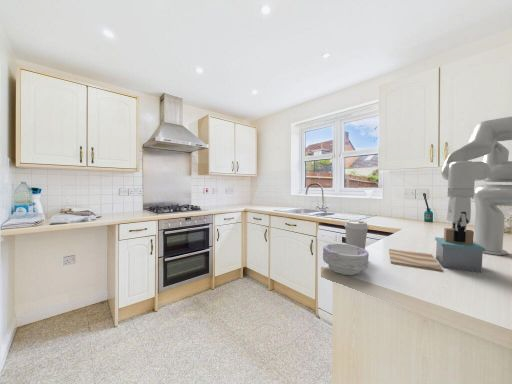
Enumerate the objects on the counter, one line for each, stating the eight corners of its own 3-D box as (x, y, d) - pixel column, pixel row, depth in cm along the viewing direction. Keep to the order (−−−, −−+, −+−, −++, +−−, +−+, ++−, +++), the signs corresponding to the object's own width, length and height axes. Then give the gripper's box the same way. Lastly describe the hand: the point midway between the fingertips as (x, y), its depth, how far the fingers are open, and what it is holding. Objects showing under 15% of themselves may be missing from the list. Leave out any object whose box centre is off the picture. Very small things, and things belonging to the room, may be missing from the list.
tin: (435, 258, 95) (436, 239, 95) (470, 263, 90) (471, 243, 89) (442, 266, 86) (443, 246, 85) (481, 272, 80) (482, 250, 80)
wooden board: (389, 250, 106) (389, 248, 106) (431, 255, 99) (431, 254, 99) (390, 263, 89) (390, 261, 89) (442, 271, 81) (442, 269, 81)
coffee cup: (361, 262, 89) (362, 225, 89) (339, 256, 96) (340, 221, 96) (371, 257, 96) (372, 222, 95) (349, 252, 103) (350, 219, 102)
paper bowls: (378, 276, 76) (379, 253, 76) (340, 281, 72) (340, 256, 72) (347, 261, 91) (348, 241, 90) (314, 264, 86) (315, 244, 86)
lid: (434, 242, 96) (435, 225, 95) (472, 247, 90) (473, 228, 89) (441, 250, 85) (442, 230, 85) (484, 255, 79) (486, 234, 79)
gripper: (442, 192, 95) (440, 235, 96) (453, 193, 81) (451, 244, 82) (466, 193, 92) (463, 237, 93) (482, 194, 78) (479, 247, 78)
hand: (458, 240), depth 87 cm, fingers closed on lid, 3 cm apart
